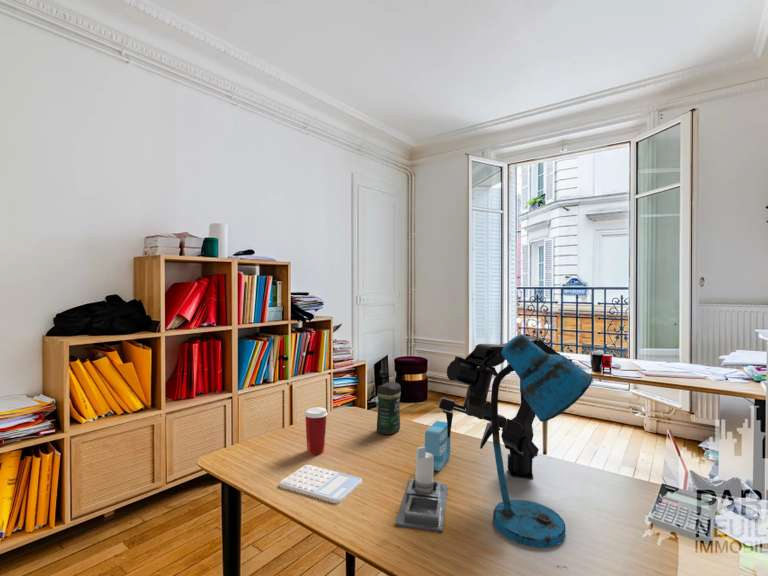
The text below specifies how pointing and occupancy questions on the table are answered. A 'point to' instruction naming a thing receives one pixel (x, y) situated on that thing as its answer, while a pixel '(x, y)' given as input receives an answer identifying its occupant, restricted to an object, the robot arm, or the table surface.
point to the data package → (438, 444)
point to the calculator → (321, 483)
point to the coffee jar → (388, 408)
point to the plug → (424, 471)
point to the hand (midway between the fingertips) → (464, 443)
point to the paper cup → (315, 430)
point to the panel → (423, 508)
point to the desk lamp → (547, 399)
